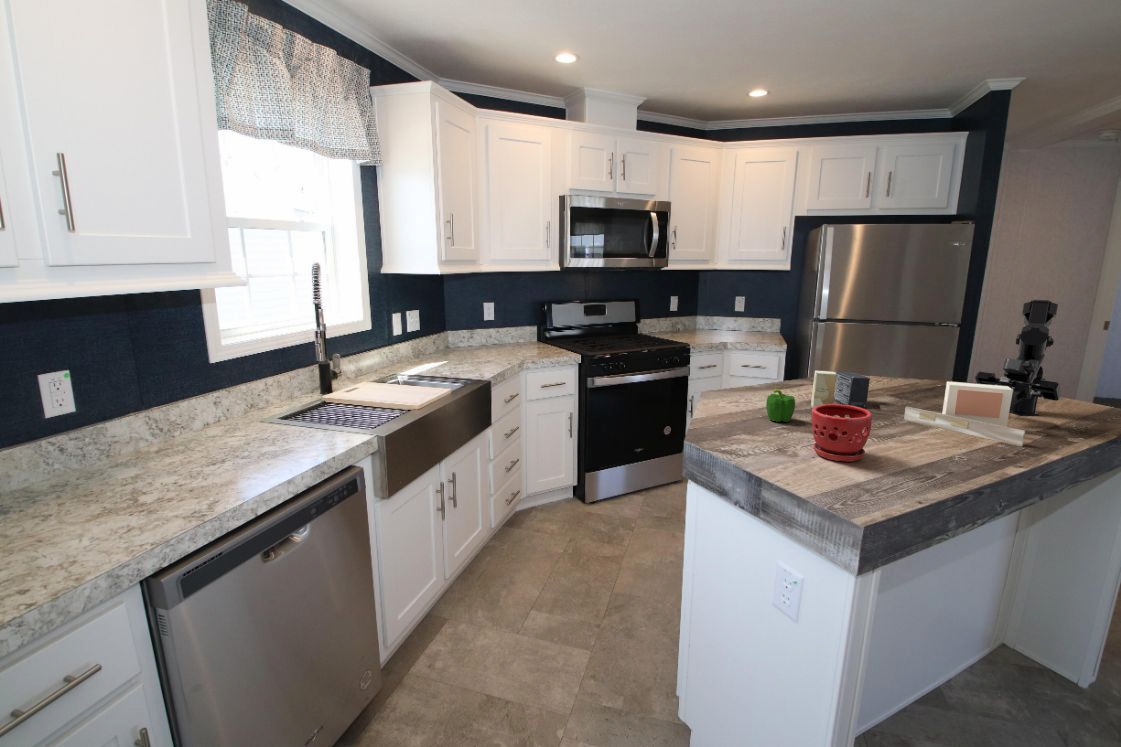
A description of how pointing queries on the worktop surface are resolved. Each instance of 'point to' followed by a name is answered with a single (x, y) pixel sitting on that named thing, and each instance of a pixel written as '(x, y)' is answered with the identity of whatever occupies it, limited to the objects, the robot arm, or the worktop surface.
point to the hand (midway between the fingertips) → (1004, 407)
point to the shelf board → (972, 427)
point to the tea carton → (978, 402)
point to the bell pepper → (780, 407)
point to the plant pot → (840, 431)
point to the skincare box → (823, 388)
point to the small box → (851, 389)
